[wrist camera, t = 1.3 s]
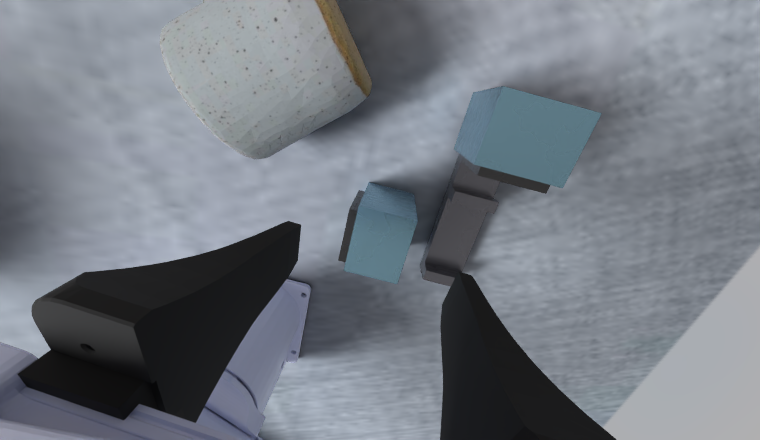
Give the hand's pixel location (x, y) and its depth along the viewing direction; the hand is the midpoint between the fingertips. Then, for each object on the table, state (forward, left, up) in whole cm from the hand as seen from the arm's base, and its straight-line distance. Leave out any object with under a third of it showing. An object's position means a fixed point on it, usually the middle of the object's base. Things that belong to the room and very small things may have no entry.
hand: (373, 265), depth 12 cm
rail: (+2, -6, -10) cm, 11 cm away
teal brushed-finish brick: (-1, 0, -10) cm, 10 cm away
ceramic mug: (+8, +9, -10) cm, 15 cm away
